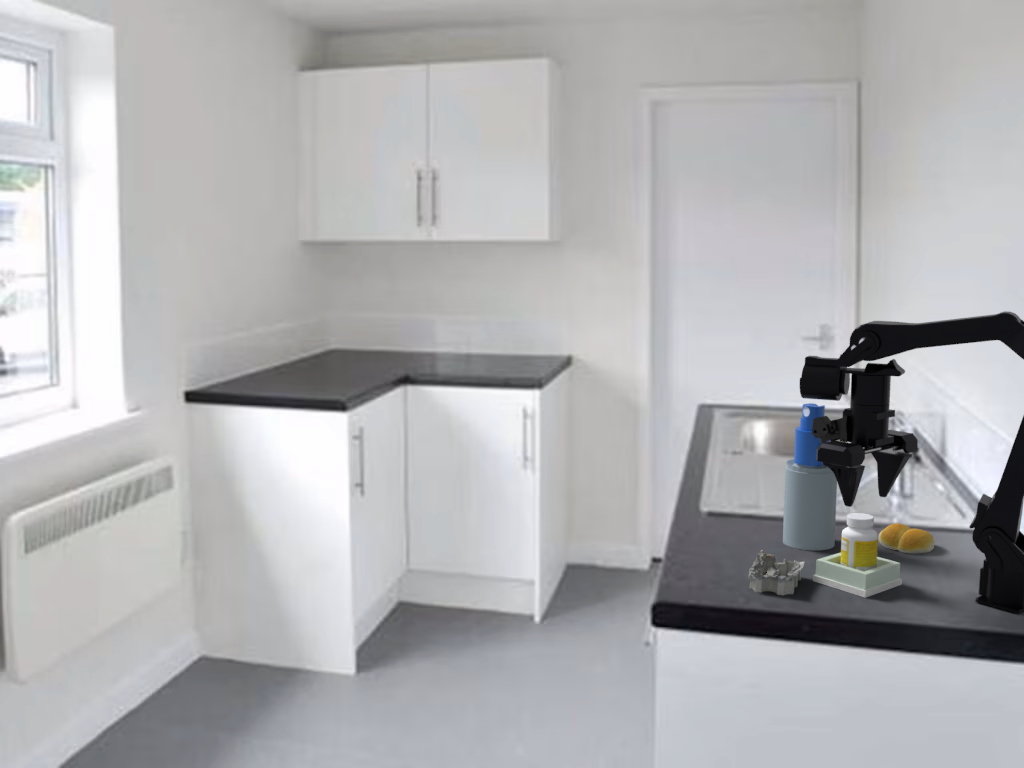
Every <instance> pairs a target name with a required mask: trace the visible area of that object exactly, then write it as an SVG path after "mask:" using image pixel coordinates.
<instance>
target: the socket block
mask: <svg viewBox="0 0 1024 768" xmlns="http://www.w3.org/2000/svg"><path fill="white" fill-rule="evenodd" d="M840 564H841V551H840V552H838V553H834V554H830V555H828V556H824V557H821V558H818V559H816V560H815V574H813V575H812V581H813V582H815V583H818V584H821V585H825V586H828V587H830V588H834V589H835V590H840V591H842V592H846V593H848V594H852V595H856V596H859V597H862V598H868V597H869V598H870V597H871V596H874V595H876V594H880V593H882V592H886V591H888V590H891V589H893V588H897V587H899V586H902V584H903V583H902V582H903V578H902V577H901V576H900V575H901V563H900V562H897V561H894V560H891V559H887V558H884V557H880V556H877V567H876V568H873V569H870V570H867V571H860V570H857V569H854V568H850V567H847V566H843V565H840ZM900 577H901V578H900Z"/></svg>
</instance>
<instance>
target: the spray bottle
mask: <svg viewBox="0 0 1024 768" xmlns="http://www.w3.org/2000/svg"><path fill="white" fill-rule="evenodd" d="M825 409H826V405H818V404H816V403H814V402H813V403H809V402H808V403H803V404H802V411H801V412H802V413H801V415H802V417H800V419H799V426H796V427H795V430H794V456H793V457H794V458H791V459H789V460H786V465H785V466H784V468H785V469H784V488H783V489H784V495H783V496H784V497H783V525H782V529H783V530H782V543H783V545H785V546H787V547H790V548H794V549H797V550H803V551H825V550H826V551H827V550H830V549H832V548H835V541H836V517H837V516H836V515H837V514H836V513H837V511H836V510H837V493H838V491H837V490H838V482H837V480H836V477H835V475H834V473H833V471H832V470H831V469H830V468H829V467H827V466H824V465H823V464H822V462H820V461H817V460H816V458H817V448H818V447H819V446H820V445H821V443H820V440H819V438H816V437H814V435H812V424H813V419H814V418H818V417H822V416H825V413H826V411H825ZM826 442H831V441H826ZM826 442H825V443H826Z"/></svg>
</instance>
